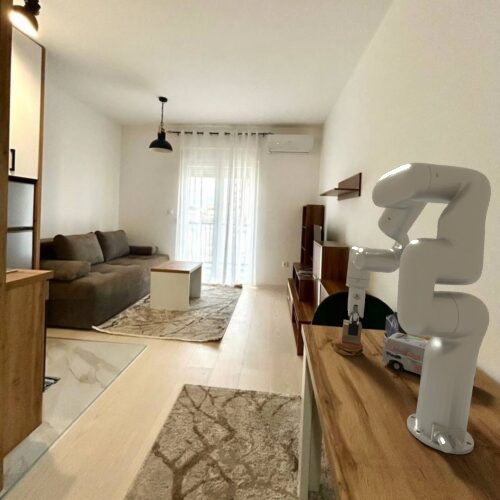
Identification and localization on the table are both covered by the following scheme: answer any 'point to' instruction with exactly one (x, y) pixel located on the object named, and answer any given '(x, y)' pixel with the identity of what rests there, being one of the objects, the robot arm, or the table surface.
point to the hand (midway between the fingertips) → (352, 330)
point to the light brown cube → (350, 337)
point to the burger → (347, 347)
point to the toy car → (405, 352)
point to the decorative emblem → (392, 326)
